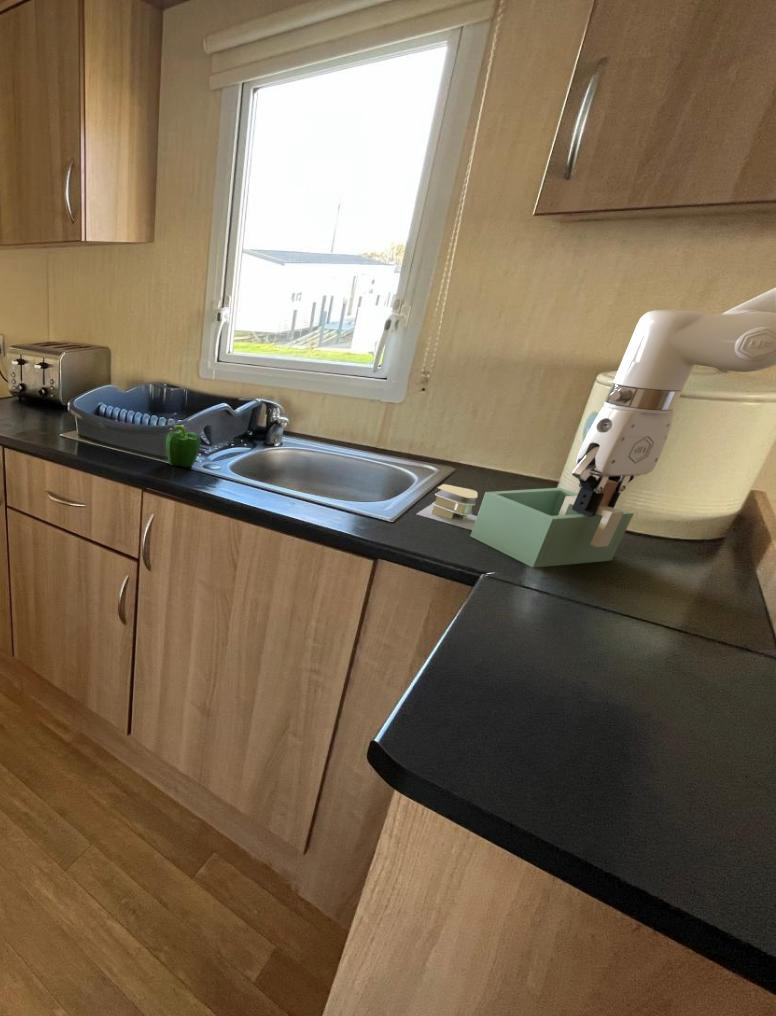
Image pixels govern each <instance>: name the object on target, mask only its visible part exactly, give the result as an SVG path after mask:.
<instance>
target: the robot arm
mask: <svg viewBox="0 0 776 1016" xmlns="http://www.w3.org/2000/svg"><path fill="white" fill-rule="evenodd" d="M695 366H702V367H708V368H713V369H720V370H725V371H728V372H729V371H730V372H735V373H736V372H738V373H750V372H759V371H762V370H766V369H769V368H770V369H771V368H772V367H774V366H776V287H774V288H772V289H769V290H768V291H766V292H763V293H761V294H759V295H757V296H755V297H753V298H751V299H749V300H747V301H745V302H742V303H740V304H738V305H736V306H734V307H732V308H730V309H728V310H726V311H725V312H721V313H720V314H719V313H716V314H715V313H713V314H711V313H710V312H707V311H702V310H701V311H700V310H687V309H685V310H684V309H653V310H649V311H648V312H645V313H644V314H643V315H642V316H641V317H640V318H639V320H638V322H637V324H636V326H635V328H634V331H633V333H632V336H631V338H630V340H629V343H628V345H627V347H626V350H625V352H624V355H623V357H622V360H621V362H620V364H619V366H618V369H617V372H616V374H615V377H614V379H613V381H612V384H611V386H610V389H609V390H608V393H607V395H606V398H605V400H604V403H603V406H602V407H601V409H600V411H599V412H598V414H597V416H596V417H595V419H594V421H593V422H592V424H591V426H590V428H589V430H588V431H587V433H586V436H585V438H584V439H583V442H582V444H581V446H580V449H579V451H578V453H577V457H576V459H575V466H576V467H575V468H574V469H573V470H572V473H571V475H572V476H573V477H575V478H576V479H577V480H578V481H579V484H578V487H579V491H578V493H577V494H578V495H577V498H576V500H575V502H574V505H573V507H572V510H573V511H576V512H578V513H581V514H584V515H586V516H589V517H592V516H595V514H596V512H597V509H598V507H599V505H600V503H601V501H602V498H603V496H604V494H603V493H601V492H602V490H603V489H604V486H605V484H606V482H607V480H608V479H609V480H612V481H615V482H618V485H617V487H616V489H615V491H614V493H613V496H612V498H611V500H610V502H609V504H608V506H609V507H612V508H614V507H616V504H617V502H618V500H619V497H620V496H621V493H623V492H624V491H625V490H626V488H627V486H628V485H629V483H631V481H633V480H634V479H635V478H638V477H639V476H643V475H647V474H649V473H652V472H653V471H654V469H655V468H656V465H657V463H658V461H659V459H660V456H661V454H662V452H663V450H664V446H665V444H666V442H667V438H668V436H669V433H670V430H671V426H672V422H673V417H674V409H675V407H676V406H677V405H676V404H677V402H678V400H679V399H680V396H681V395H682V392H683V391H684V388H685V386H686V384H687V382H688V379H689V378H690V376H691V373H692V372H693V369H694V367H695ZM596 478H598V480H597V479H596Z"/></svg>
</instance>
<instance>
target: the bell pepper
mask: <svg viewBox="0 0 776 1016" xmlns="http://www.w3.org/2000/svg"><path fill="white" fill-rule="evenodd" d="M173 428H174V430H175V431H176V430H179V431H176V432H168V434H167V436H166V441H165V450H166V458H167V461H168V463H169V465H171V466H174V467H183V468H190V467H192V466H194V464H195V463H196V460H197V458H198V455H199V452H200V448H201V438H200V435H197V434H196V433H195V432H194V431H190V432H186V429H185V427H183V426H182V425H173Z"/></svg>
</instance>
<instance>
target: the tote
mask: <svg viewBox="0 0 776 1016" xmlns="http://www.w3.org/2000/svg"><path fill="white" fill-rule="evenodd" d="M577 495H578V493H576V492H574V491H571V490H568V489H566V488H562V487H550V488H549V487H548V488H533V489H516V490H515V489H513V490H499V491H498V490H497V491H496V490H495V491H485V493H484V495H483V499H482V502H481V504H480V507H479V510H478V513H477V515H476V516H477V518H476V521H475V524H474V527H473V530H471V533H470V537H471V538H473V539H475V540H477V541H478V542H481V543H483V544H485V545H487V546H489V547H490V548H492V549H494V550H496V551H499V552H500V553H502V554H504V555H506V556H509V557H510V558H512V559H514V560H516V561H519V562H521V564H524V565H527V566H528V567H530V568H532V569H535V568H544V567H554V566H555V567H557V566H566V565H567V566H568V565H577V564H588V563H590V564H591V563H599V562H601V563H602V562H611V561H613V558H614V557H615V554H616V552H617V550H618V548H619V546H620V543H621V541H622V539H623V537H624V535H625V533H626V532H627V529H628V527H629V526H630V522H631V521H632V519H633V516H634V512H632V511H628V510H626V509H623V508H620V507H617V506H614V509H617V510H620V511H623V512H624V513H623V515H622V517H621V520H620V522H619V524H618V526H617V528H616V530H615V532H614V534H613V537H612V539H611V541H610V543H609V545H608V546H604V547H595V546H592V545H590V544H591V541H592V539H593V537H594V535H595V533H596V530H597V528H598V526H599V524H600V522H601V519H602V517H603V516H601V515H599V514H595V516H592V517H589V516H586V515H584V514H581V513H578V512H577V513H576V514H572V515H559V512H560V510H561V508H562V505H563V503H564V500H565V498H566V496H577Z"/></svg>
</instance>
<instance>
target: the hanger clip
mask: <svg viewBox="0 0 776 1016" xmlns="http://www.w3.org/2000/svg"><path fill="white" fill-rule="evenodd" d="M598 478H599V477H596V479H597V480H598ZM617 485H618V482H615V481H612V480H609V479H608V480H607V482H606V484H605V486H604V489H603V490H602V492H601V493H603V494H604V496H603V498H602V501H601V503H600V505H599V507H598V509H597V512H596V514H599V515H601V516H603V517H602V519H601V522H600V524H599V526H598V528H597V530H596V533H595V535H594V537H593V539H592V541H591V544H590V545H592V546H595V547H604V546H608V545H609V543H610V541H611V539H612V537H613V534H614V532H615V530H616V528H617V526H618V524H619V522H620V520H621V517H622V515H623V513H624V512H623V511H620V510H617V509H614V508H612V507H609V506H608V504H609V502H610V500H611V498H612V496H613V493H614V491H615V489H616V487H617ZM576 498H577V496H566V498H565V500H564V503H563V505H562V508H561V510H560V512H559V515H572V514H576V513H577V512H576V511H573V510H572V507H573V505H574V502H575V500H576Z"/></svg>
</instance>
